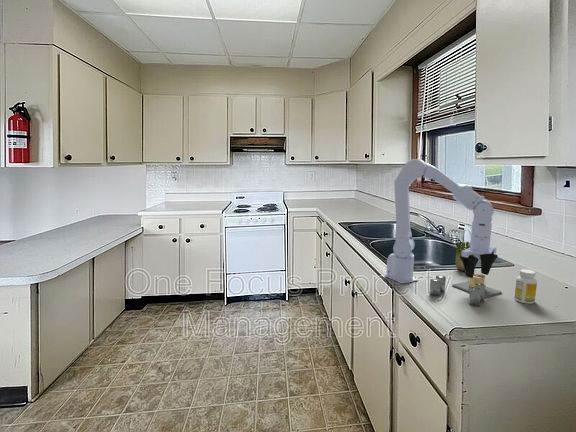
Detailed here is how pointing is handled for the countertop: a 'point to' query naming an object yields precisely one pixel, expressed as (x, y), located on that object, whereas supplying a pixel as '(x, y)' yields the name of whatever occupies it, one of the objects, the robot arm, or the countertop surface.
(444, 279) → the cylinder
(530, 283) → the supplement bottle
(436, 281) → the cylinder
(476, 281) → the nut
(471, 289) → the cylinder
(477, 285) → the cylinder
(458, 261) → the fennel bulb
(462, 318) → the countertop surface
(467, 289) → the mat
